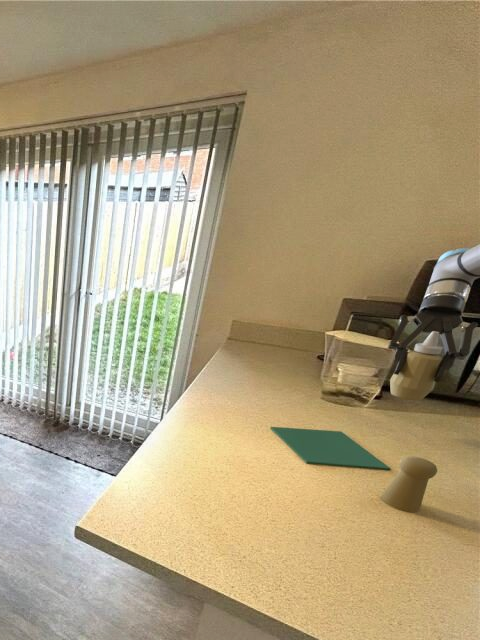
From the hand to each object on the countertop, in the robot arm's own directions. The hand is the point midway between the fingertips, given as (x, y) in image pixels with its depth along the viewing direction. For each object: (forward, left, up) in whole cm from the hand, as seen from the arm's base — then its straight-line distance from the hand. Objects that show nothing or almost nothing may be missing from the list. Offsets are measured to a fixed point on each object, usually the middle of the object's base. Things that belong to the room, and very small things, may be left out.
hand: (417, 375), depth 100 cm
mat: (-7, +19, -19) cm, 28 cm away
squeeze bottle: (+3, -2, -7) cm, 8 cm away
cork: (-29, +17, -20) cm, 39 cm away
